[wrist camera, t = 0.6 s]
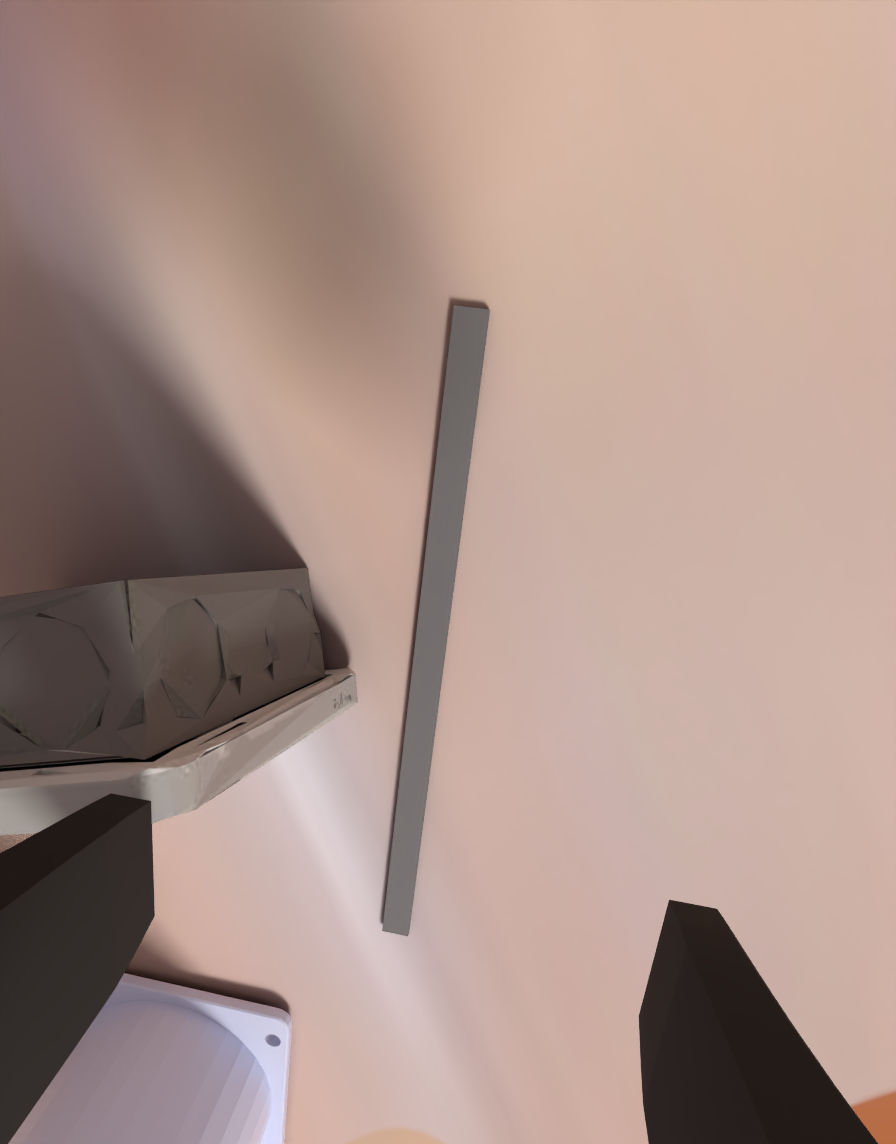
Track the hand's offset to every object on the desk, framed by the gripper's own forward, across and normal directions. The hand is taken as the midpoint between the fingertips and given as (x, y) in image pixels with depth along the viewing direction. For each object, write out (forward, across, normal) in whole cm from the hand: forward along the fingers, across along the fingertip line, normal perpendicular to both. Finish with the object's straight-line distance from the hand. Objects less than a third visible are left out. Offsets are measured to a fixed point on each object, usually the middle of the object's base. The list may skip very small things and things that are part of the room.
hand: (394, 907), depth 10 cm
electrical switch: (+10, +8, +1) cm, 13 cm away
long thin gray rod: (+9, +1, +1) cm, 9 cm away
